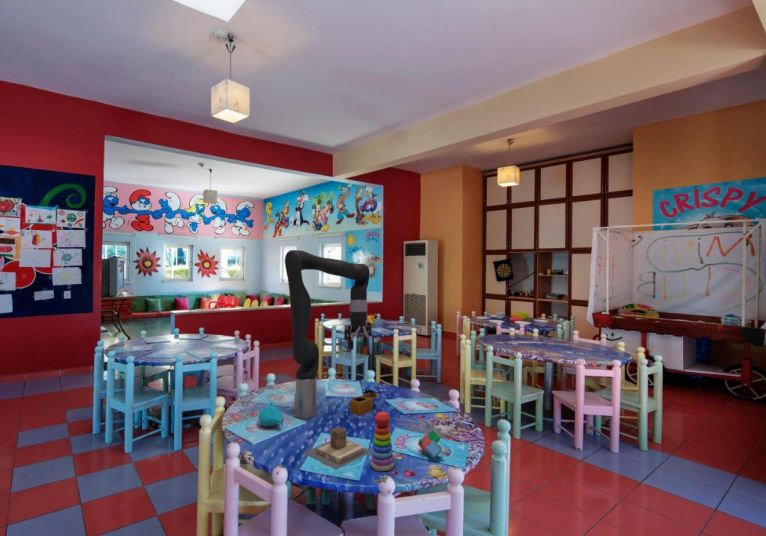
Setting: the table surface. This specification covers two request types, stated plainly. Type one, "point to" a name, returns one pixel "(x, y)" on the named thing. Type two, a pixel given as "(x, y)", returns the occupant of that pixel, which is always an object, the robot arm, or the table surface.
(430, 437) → the building blocks
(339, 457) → the tile
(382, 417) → the stacking toy
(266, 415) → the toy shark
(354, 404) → the spider toy trap
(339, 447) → the block
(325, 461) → the mat
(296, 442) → the table surface
